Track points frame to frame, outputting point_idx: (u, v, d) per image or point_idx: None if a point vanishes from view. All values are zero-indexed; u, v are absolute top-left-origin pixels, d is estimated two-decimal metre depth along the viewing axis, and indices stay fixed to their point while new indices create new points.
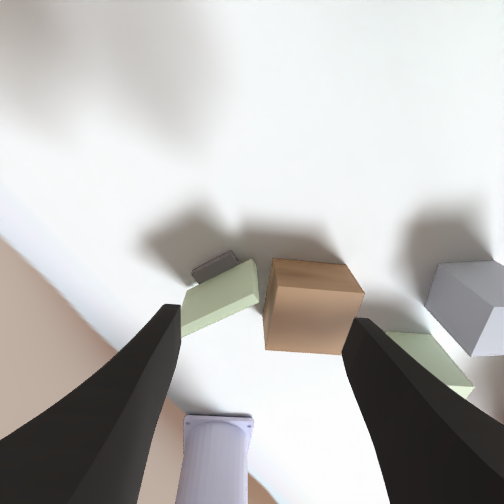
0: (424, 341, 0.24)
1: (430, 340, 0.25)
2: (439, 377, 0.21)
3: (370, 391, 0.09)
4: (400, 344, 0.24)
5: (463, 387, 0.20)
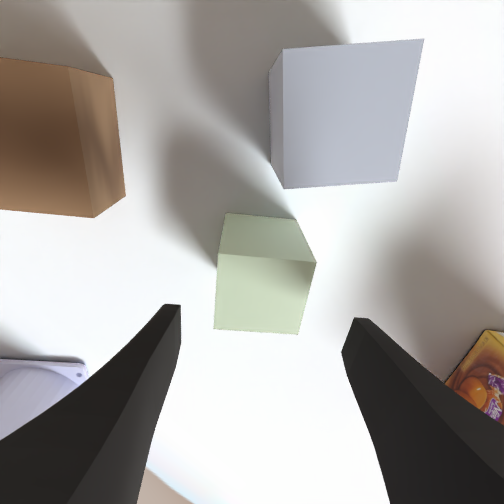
0: (277, 223, 0.16)
1: (288, 223, 0.16)
2: (262, 250, 0.13)
3: (370, 391, 0.09)
4: (233, 222, 0.15)
5: (297, 263, 0.12)
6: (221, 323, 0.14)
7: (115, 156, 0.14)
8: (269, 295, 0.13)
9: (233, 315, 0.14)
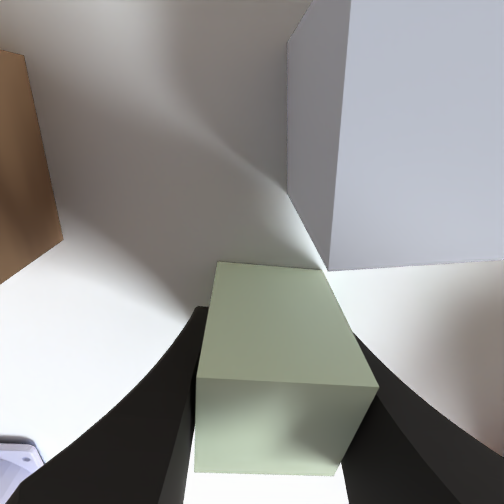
0: (296, 281, 0.10)
1: (312, 280, 0.11)
2: (278, 358, 0.07)
3: None
4: (229, 284, 0.10)
5: (343, 388, 0.07)
6: (207, 466, 0.08)
7: (35, 184, 0.09)
8: (290, 431, 0.07)
9: (226, 456, 0.08)
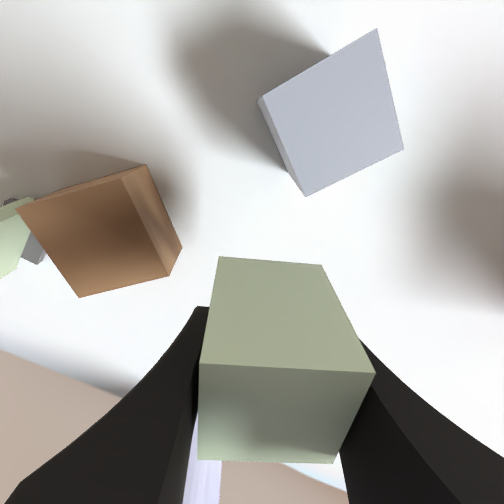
0: (296, 275, 0.11)
1: (312, 274, 0.11)
2: (278, 346, 0.07)
3: None
4: (230, 278, 0.10)
5: (341, 374, 0.07)
6: (209, 453, 0.08)
7: (166, 221, 0.18)
8: (290, 417, 0.08)
9: (228, 443, 0.08)
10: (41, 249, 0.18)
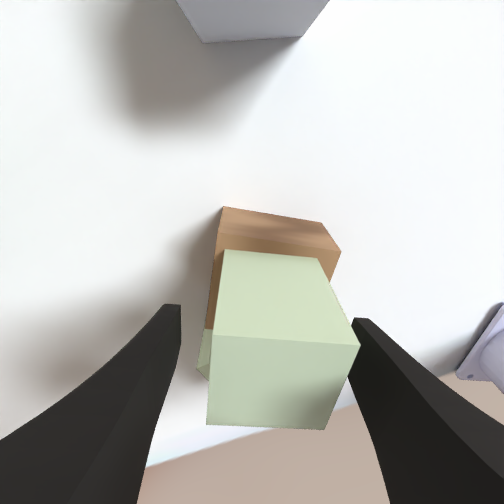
0: (294, 266, 0.12)
1: (308, 265, 0.12)
2: (278, 323, 0.09)
3: (370, 391, 0.09)
4: (235, 267, 0.11)
5: (331, 346, 0.08)
6: (217, 418, 0.10)
7: (285, 220, 0.15)
8: (288, 385, 0.09)
9: (233, 409, 0.09)
10: None
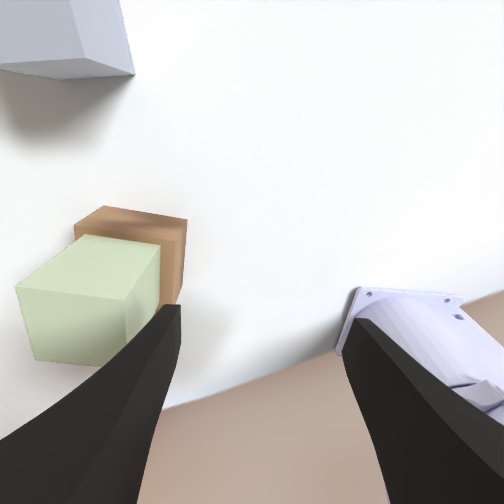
0: (132, 249, 0.15)
1: (145, 249, 0.16)
2: (74, 283, 0.12)
3: (370, 391, 0.09)
4: (80, 247, 0.15)
5: (104, 300, 0.12)
6: (41, 354, 0.13)
7: (151, 217, 0.19)
8: (84, 329, 0.12)
9: (51, 348, 0.13)
10: None
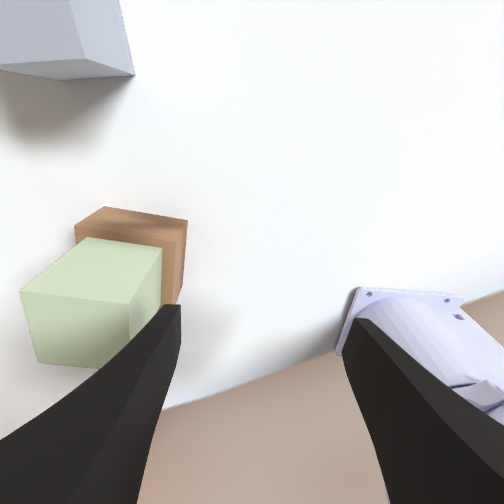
0: (134, 252, 0.16)
1: (148, 252, 0.16)
2: (78, 287, 0.12)
3: (370, 391, 0.09)
4: (82, 250, 0.15)
5: (108, 303, 0.12)
6: (45, 357, 0.13)
7: (152, 218, 0.19)
8: (88, 333, 0.12)
9: (55, 351, 0.13)
10: None
